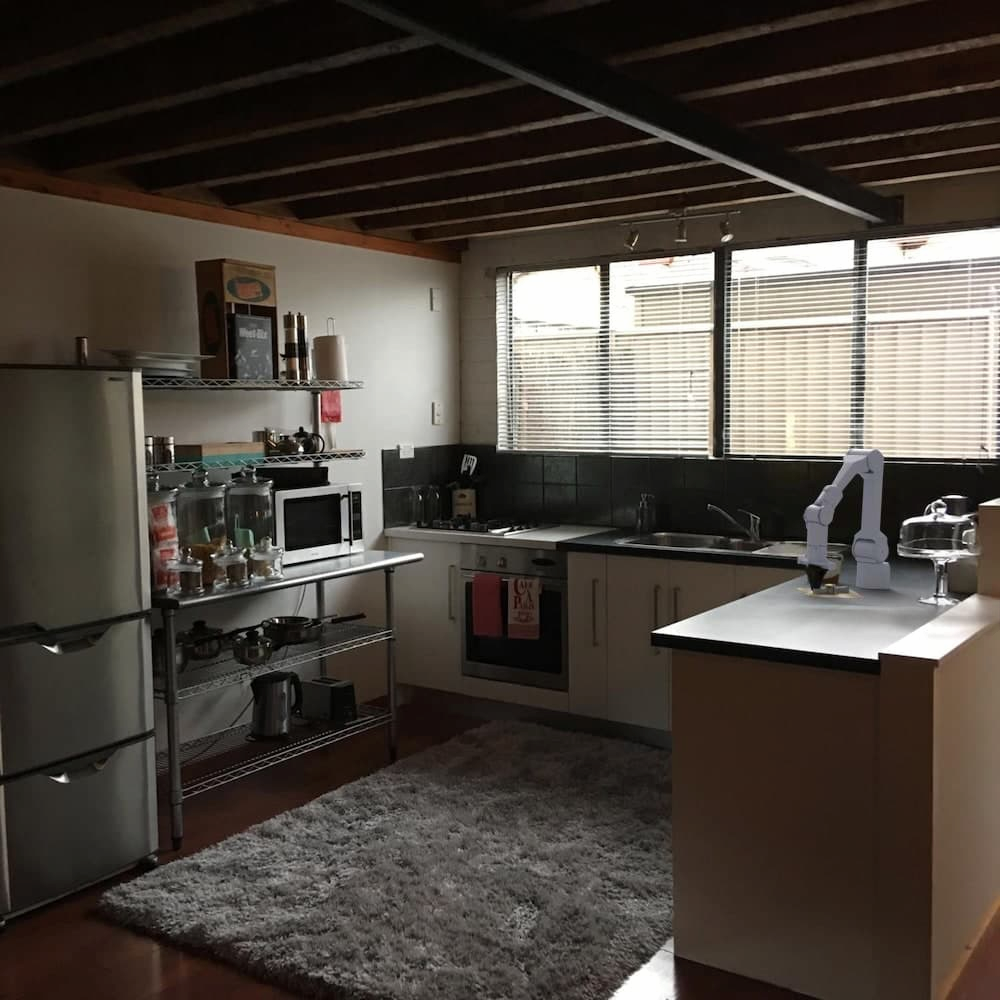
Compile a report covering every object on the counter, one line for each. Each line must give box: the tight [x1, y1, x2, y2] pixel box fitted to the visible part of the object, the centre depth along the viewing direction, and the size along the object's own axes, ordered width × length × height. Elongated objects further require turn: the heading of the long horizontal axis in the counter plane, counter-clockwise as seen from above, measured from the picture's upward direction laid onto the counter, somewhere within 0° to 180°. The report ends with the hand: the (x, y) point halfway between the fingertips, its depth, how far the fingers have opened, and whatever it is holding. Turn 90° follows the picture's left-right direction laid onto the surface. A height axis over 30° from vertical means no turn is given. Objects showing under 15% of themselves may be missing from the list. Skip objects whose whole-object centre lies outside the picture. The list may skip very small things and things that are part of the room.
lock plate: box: [796, 583, 865, 599], centre depth 322 cm, size 16×16×3 cm
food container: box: [804, 551, 845, 584], centre depth 345 cm, size 12×6×10 cm, turn 84°
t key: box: [813, 586, 850, 595], centre depth 322 cm, size 12×4×2 cm, turn 113°
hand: (815, 590), depth 322 cm, fingers closed
